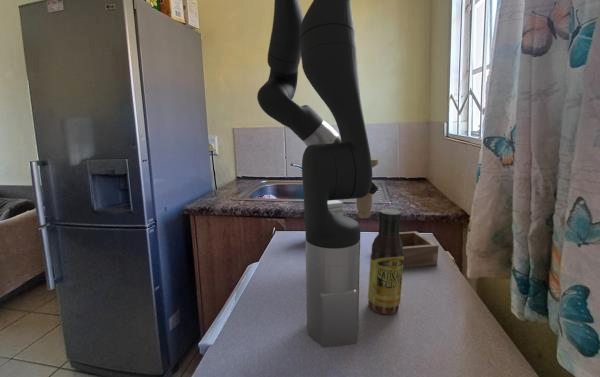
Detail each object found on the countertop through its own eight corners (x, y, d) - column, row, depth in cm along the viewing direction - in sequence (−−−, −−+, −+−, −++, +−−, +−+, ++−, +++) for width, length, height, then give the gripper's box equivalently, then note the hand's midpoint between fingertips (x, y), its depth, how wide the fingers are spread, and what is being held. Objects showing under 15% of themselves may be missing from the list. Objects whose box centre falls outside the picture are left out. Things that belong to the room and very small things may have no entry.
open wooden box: (437, 264, 88) (438, 245, 87) (395, 268, 86) (395, 249, 85) (415, 247, 99) (416, 231, 98) (377, 250, 97) (378, 234, 96)
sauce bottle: (375, 318, 65) (378, 217, 61) (362, 301, 71) (365, 208, 67) (407, 313, 66) (412, 214, 62) (392, 297, 72) (396, 206, 68)
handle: (375, 220, 86) (377, 160, 83) (349, 218, 88) (350, 159, 85) (377, 215, 90) (379, 158, 87) (353, 213, 92) (354, 157, 89)
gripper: (345, 133, 76) (394, 184, 81) (329, 131, 90) (372, 175, 95) (321, 157, 77) (372, 207, 81) (309, 152, 90) (353, 195, 95)
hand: (372, 189), depth 88 cm, fingers closed on handle, 3 cm apart
